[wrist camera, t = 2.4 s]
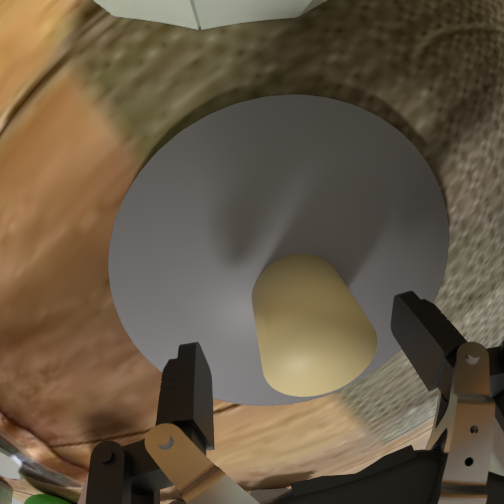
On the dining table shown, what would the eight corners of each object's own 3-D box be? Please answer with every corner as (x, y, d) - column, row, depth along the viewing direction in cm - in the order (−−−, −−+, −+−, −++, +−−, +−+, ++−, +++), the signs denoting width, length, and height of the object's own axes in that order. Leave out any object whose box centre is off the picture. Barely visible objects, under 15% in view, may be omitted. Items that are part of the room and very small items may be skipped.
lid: (434, 90, 11) (516, 95, 6) (416, 353, 19) (450, 406, 14) (70, 151, 11) (-6, 180, 6) (180, 407, 19) (176, 473, 14)
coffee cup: (21, 492, 40) (14, 523, 29) (10, 489, 41) (3, 516, 30) (-2, 478, 37) (-10, 509, 26) (-11, 474, 37) (-20, 503, 27)
